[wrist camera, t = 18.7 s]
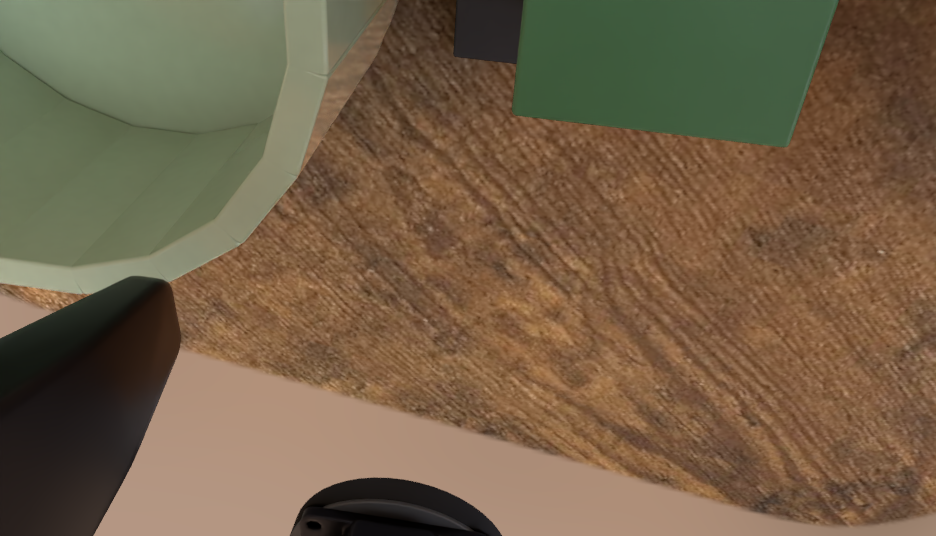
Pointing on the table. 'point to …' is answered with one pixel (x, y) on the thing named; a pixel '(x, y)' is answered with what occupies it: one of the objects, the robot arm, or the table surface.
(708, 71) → the sponge
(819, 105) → the table surface
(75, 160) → the bowl
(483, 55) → the mat
